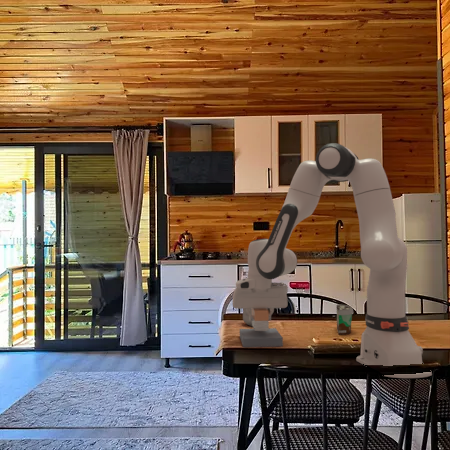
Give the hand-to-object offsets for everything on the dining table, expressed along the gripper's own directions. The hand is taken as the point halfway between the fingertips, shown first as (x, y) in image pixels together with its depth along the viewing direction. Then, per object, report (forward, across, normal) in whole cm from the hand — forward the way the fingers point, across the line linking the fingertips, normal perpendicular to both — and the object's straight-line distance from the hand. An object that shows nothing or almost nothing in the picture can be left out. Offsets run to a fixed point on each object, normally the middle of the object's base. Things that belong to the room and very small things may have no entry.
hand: (259, 320), depth 148 cm
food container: (+8, -36, -11) cm, 39 cm away
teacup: (+8, -2, -25) cm, 26 cm away
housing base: (+3, 0, 0) cm, 3 cm away
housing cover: (-1, 0, 0) cm, 1 cm away
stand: (+8, 0, 0) cm, 8 cm away
